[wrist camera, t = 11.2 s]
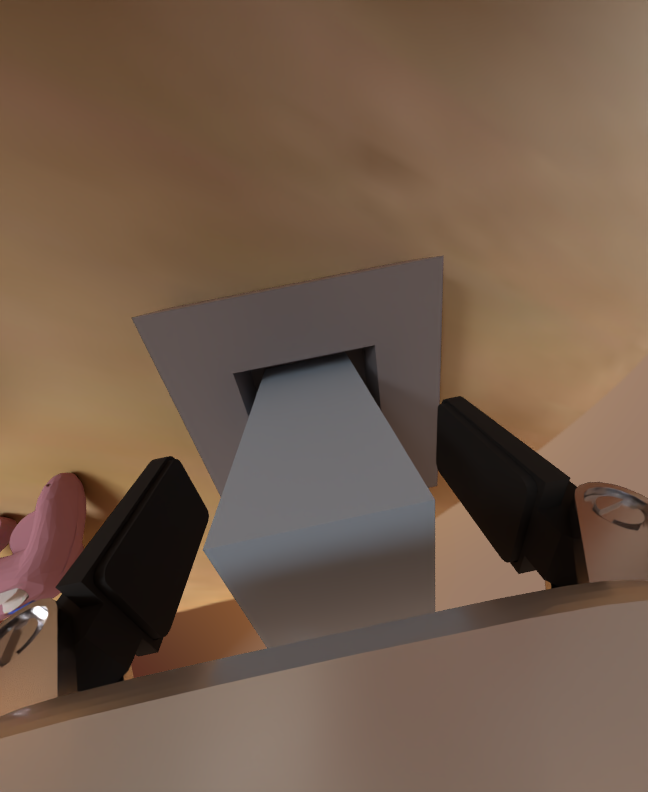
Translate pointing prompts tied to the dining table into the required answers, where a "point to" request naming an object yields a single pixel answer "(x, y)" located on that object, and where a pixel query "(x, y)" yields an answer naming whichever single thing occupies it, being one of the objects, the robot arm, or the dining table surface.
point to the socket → (306, 352)
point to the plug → (322, 510)
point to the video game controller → (42, 544)
